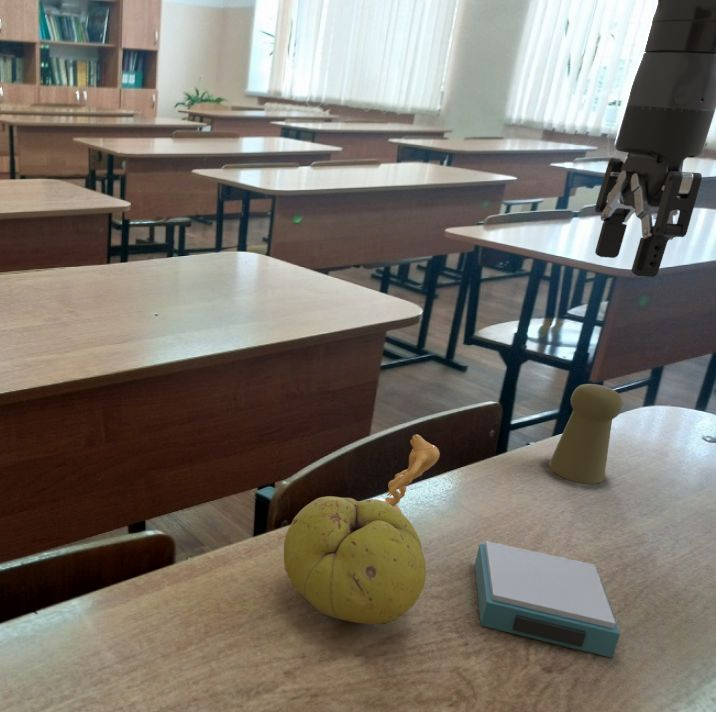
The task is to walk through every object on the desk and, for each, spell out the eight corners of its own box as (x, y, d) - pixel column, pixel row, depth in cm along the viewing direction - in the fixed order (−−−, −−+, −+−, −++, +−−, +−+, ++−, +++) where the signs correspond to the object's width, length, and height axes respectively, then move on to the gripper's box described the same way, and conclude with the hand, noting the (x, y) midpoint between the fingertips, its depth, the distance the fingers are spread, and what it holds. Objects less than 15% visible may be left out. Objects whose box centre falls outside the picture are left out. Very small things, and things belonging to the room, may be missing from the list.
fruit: (348, 553, 71) (364, 462, 67) (445, 631, 61) (469, 530, 58) (255, 585, 65) (266, 488, 62) (345, 676, 56) (364, 568, 52)
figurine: (375, 511, 78) (394, 409, 74) (431, 532, 75) (454, 427, 70) (344, 546, 72) (362, 437, 67) (404, 572, 68) (428, 459, 64)
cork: (558, 454, 93) (581, 374, 89) (610, 472, 89) (636, 390, 85) (541, 469, 89) (563, 386, 85) (595, 489, 85) (621, 403, 81)
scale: (589, 590, 67) (598, 562, 66) (613, 661, 59) (623, 630, 58) (474, 564, 70) (481, 537, 69) (481, 628, 62) (488, 598, 61)
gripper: (756, 109, 65) (698, 286, 70) (672, 104, 78) (628, 253, 84) (667, 104, 65) (616, 279, 71) (598, 99, 78) (560, 248, 84)
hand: (623, 265), depth 77 cm, fingers open, 8 cm apart
